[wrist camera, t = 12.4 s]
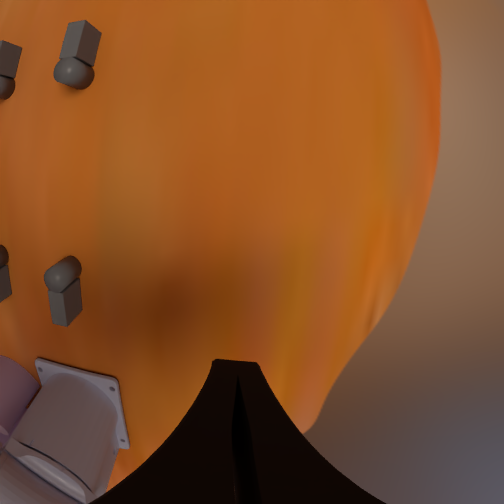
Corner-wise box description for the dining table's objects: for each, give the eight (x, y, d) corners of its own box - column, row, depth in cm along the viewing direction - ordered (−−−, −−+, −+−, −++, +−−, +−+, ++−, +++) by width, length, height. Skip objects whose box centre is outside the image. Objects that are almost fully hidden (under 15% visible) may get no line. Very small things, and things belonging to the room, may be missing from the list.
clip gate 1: (84, 310, 19) (69, 327, 17) (66, 306, 19) (50, 322, 17) (104, 32, 14) (88, 19, 12) (83, 35, 14) (66, 23, 12)
